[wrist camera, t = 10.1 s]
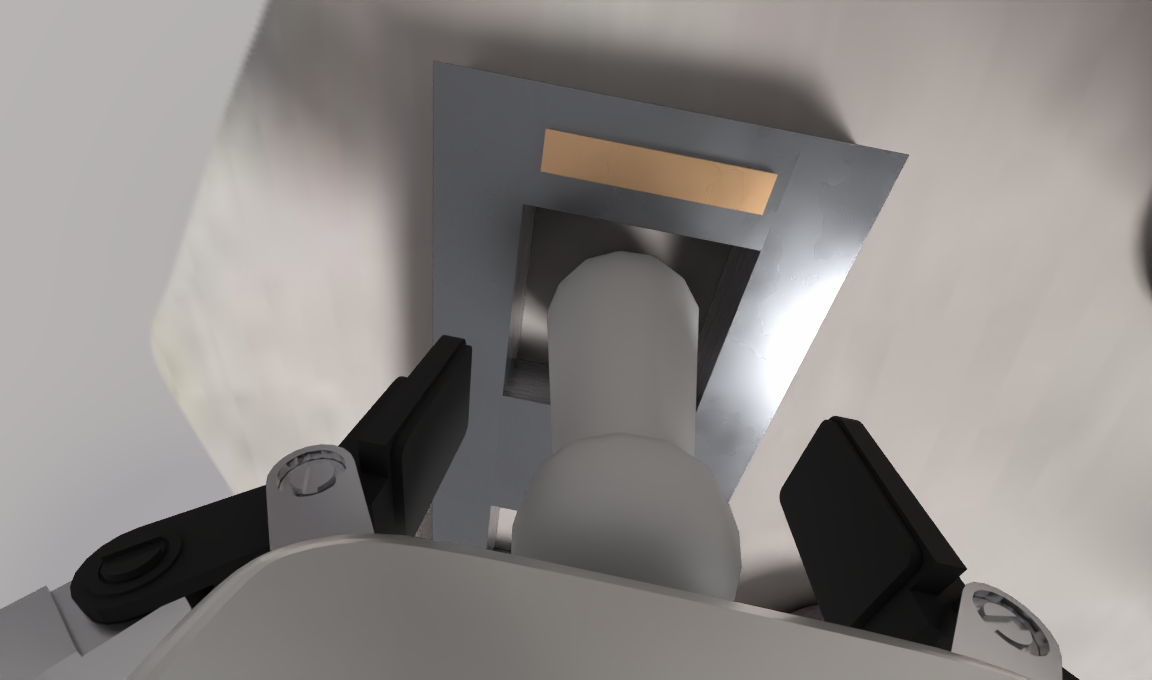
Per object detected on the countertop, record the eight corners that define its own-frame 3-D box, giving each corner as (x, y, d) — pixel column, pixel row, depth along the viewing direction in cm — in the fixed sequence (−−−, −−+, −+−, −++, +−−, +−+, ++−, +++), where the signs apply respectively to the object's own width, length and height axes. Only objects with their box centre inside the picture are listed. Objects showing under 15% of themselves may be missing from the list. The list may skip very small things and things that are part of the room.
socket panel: (858, 146, 15) (915, 156, 12) (645, 608, 30) (647, 662, 27) (466, 68, 15) (429, 59, 12) (449, 570, 29) (430, 620, 27)
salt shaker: (549, 237, 17) (418, 482, 6) (692, 230, 17) (843, 491, 5) (562, 358, 20) (488, 681, 9) (685, 356, 20) (775, 703, 8)
